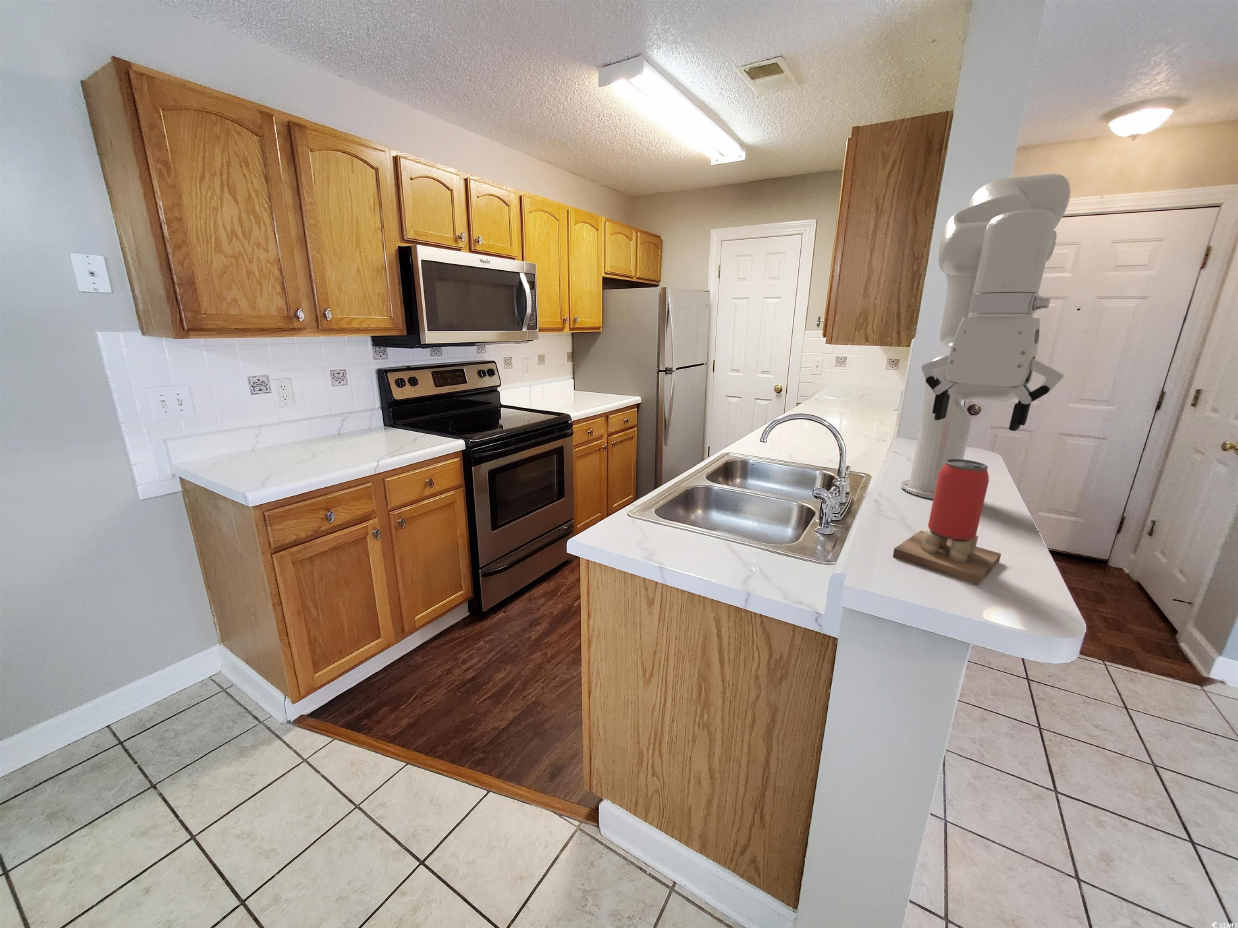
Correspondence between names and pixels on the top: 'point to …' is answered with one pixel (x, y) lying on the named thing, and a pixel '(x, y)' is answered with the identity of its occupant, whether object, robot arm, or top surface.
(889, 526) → the top surface
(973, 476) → the beer can
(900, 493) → the top surface
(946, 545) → the peg stand
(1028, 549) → the top surface
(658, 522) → the top surface
